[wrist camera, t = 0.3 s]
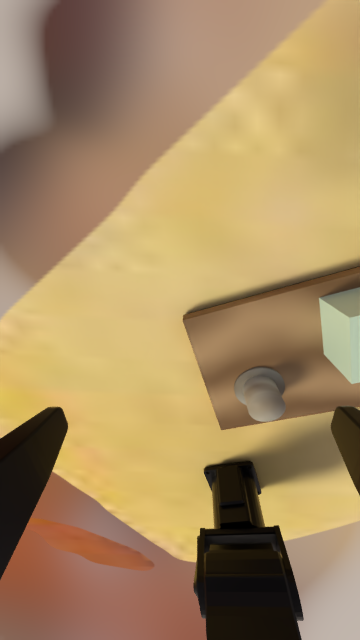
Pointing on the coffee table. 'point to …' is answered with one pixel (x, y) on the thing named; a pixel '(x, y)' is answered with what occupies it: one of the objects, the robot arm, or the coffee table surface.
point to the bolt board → (271, 354)
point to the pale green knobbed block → (342, 331)
